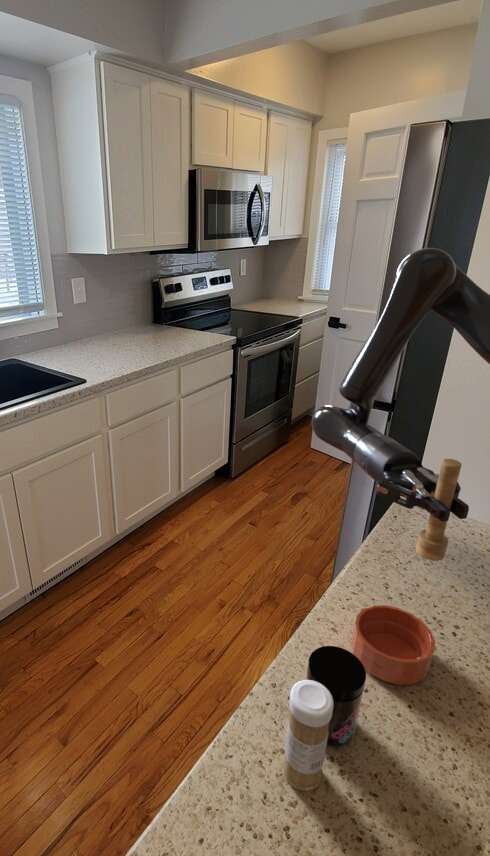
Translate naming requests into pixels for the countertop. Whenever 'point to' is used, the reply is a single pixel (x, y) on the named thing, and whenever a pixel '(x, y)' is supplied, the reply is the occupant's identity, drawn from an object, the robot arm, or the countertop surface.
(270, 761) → the countertop surface
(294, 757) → the sprinkles bottle
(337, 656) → the supplement container
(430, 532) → the muddler
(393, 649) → the bowl
